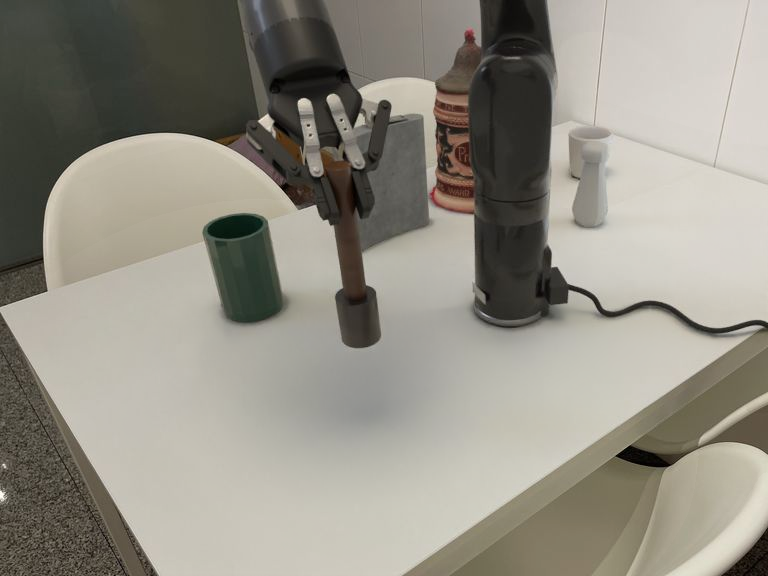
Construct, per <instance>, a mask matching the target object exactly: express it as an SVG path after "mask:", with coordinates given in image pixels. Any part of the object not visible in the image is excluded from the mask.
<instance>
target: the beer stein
mask: <svg viewBox="0 0 768 576" xmlns="http://www.w3.org/2000/svg"><path fill="white" fill-rule="evenodd" d="M474 34H475V32H474V30H473V29H468V30H466V29H465V31H464V42H463V44H462V45H461V46H460V47H459V48H458V49H457V51H456V54H455V58H454V60H453V65H452V66H451V68H450V69H449V70H448V71H447V72H446V74H444V75H443V76H441V77H439V78H437V79H436V80H435V81H434V86H435V90H436V94H435V99H434V106H433V109H432V113H433V116H434V120H435V123H436V128H435V132H434V137H435V150H436V156H437V157H436V162H437V166H436V167H435V170H434V175H435V177H436V179H435V180H436V183H435V186H434V187H433V188H432V190H431V192H429V196H430V197H429V196H428V199H430V200H432V202H433V203H434V204H435V205H436V206H438V207H441V208H443V209H446V210H448V211H452V212H458V213H468V214H474V178H473V173H472V170H471V165H470V151H469V126H468V94H469V86H470V82H471V79H472V76H473V74H474V72H475V71H476V69H477V68H478V66H479V64H480V61H481V46H478V44H477V43H476V40H477V38H476V37H475V35H474Z"/></svg>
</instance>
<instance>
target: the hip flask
mask: <svg viewBox="0 0 768 576" xmlns="http://www.w3.org/2000/svg"><path fill="white" fill-rule="evenodd" d="M424 120H425V119H424V115H423V114H421V113H406V114H397V115H390V118H389V123H388V128H387V133H386V138H385V143H384V149H383V154H382V157H381V159H380V161H379V165H378V168H377V169H376V170H375V171H369V172H368V173H367V176H368V179H369V182H370V185H371V189H372V191H373V194H374V197H375V203H374V207H373V209H372V211H371V213H370V216H369V218H365V219H360V217H359V214H358V211H357V208H356V211H357V219H358V227H359V235H360V242H361V250H362V252H363V251H365V250H367V249H368V248H369V247H372V246H374V245H376V244H379V243H380V242H383V241H385V240H388V239H390V238H392V237H395V236H397V235H401V234H403V233H406V232H410V231H412V230H415V229H420V228H424V227H426V226H428V225H429V224H430V212H429V211H430V210H429V193H428V176H427V174H428V173H427V159H426V158H427V157H426V139H425V121H424ZM353 131H354V133H355V135H356V138H357V144H358V147H359V149H360V151H361V153H362V154H364V153H366V152H367V151H368V147H369V142H370V137H371V132H372V128H369V127H368V126H367V125H366V123H365V122H364V124H362V125H358V126H356V127H355V126H354V129H353ZM331 149H332V157H333V162H334V161H342V160H340V159H339V157H338V155H337V153H336V150H335V148H334V147H331Z"/></svg>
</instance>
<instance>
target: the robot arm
mask: <svg viewBox="0 0 768 576" xmlns="http://www.w3.org/2000/svg"><path fill="white" fill-rule="evenodd" d="M239 1H240V4H241V8H242V12H243V13H242V14H243V20H244V25H245V30H246V33H247V36H248V44H249V47H250V49H251V52H253V55H254V58H255V62H256V65H257V68H258V71H259V74H260V77H261V81H262V85H263V87H264V91H265V94H266V96H267V100H268V104H267V106H266V107H267V108H266V109H267V112H266V115H264V116H262V117H261V118H259V120H257V119H250V120H248V121H247V122H246V126H245V129H246V131H245V132H246V142H247V144H248V145H249V146H250V147H251V148H252V149H253V150H254V151H255V152H256V153H257V154H258V155H259V156H260V157H261V158H262V159H263V161H265V162H266V163H267V164H268V165H269V166H270V168H272V169H273V170H274V171H275V172H276V173H277V174H278V175H279V176H280V178H282V179H283V181H285V183H286V184H288V185H289V186H292V187H295V186H297V185H301V186H306V187H308V188H309V189H310V191H311V194H312V197H313V200H314V203H315V207H316V209H317V213H318V216H319V217H320V219H321V221H323V222H324V221H328V224H329V226H331V227H332V226H334V225H337V224H339V220H340V213H339V210H338V207H337V204H336V200H335V197H334V194H333V191H332V188H331V185H330V182H329V178H328V177H326V175H325V167H324V164H323V159H322V154H321V153H322V152H321V149H323V148H332V147H334V148H335V150H336V153H337V155H338V157H339V159H340V160H342V161H346V162H349V163H350V164H351V172H352V180H353V188H354V196H355V203H356V208H357V211H358V214H359V217H360V219H365V218H369V216H370V213H371V211H372V209H373V207H374V203H375V197H374V194H373V191H372V189H371V185H370V182H369V179H368V176H367V173H368V172H369V171H375V170H376V169H377V168H378V165H379V161H380V159H381V157H382V154H383V149H384V143H385V138H386V133H387V128H388V123H389V118H390V117H391V114H392V108H393V106H392V105H393V104H392V103H391V102H390V100H387V99H381V100H380V101H379V102H378V103H377V102H374V101H371V100H368V99H364V98H363V95H362V94H361V92H360V91H359V90H358V89H357V88H356V87H355V86H354V85H353V83H352V80H351V77H350V73H349V70H348V66H347V64H346V62H345V57H344V55H343V52H342V49H341V46H340V43H339V40H338V36H337V34H336V31H335V27H334V24H333V21H332V19H331V15H330V12H329V9H328V7H327V4H326V2H325V0H239ZM479 14H480V41H481V42H480V47H481V61H480V64H479V66H478V68H477V69H476V71H475V72H474V74H473V76H472V79H471V82H470V86H469V94H468V126H469V151H470V165H471V170H472V173H473V178H474V213H473V223H474V224H473V225H474V227H473V230H474V233H473V234H474V240H473V241H474V282H472V289H471V290H472V293H473V294H474V312H475V313H476V315H477V316H478V317H479V318H480V319H481V320H483V321H484V322H487V323H489V324H491V325H496V326H501V327H519V326H525V325H529V324H531V323H534V322H535V321H537V320H538V319H540V318H541V317H547V316H549V311H550V306H557V305H565V304H568V303H569V292H570V291H571V292H574V293H577V294H581V295H583V296H585V297H587V298H588V299H590V301H592V303H593V304H594V306H595V308H596V310H597V311H598V313H600V314H601V315H602V316H606V317H608V318H616V317H620V316H623V315H626V314H628V313H632V312H633V311H635V310H637V309H640V308H643V307H657V308H661V309H665V310H666V311H668V312H670V313H672V314H673V315H675V316H676V317H677V318H679V319H680V320H681V321H682V322H683V323H685V324H686V325H688V326H690V327H691V328H693V329H695V330H698V331H700V332H704V333H708V334H713V335H714V334H717V335H719V334H720V335H722V334H729V333H733V332H736V331H739V330H743V329H746V328H749V327H755V326H756V327H757V326H759V327H763V328H765V329H767V330H768V321H765V320H762V319H751V320H746V321H743V322H740V323H738V324H733V325H730V326H726V327H724V326H723V327H709V326H707V325H702V324H700V323H698V322H697V321H696V322H695V321H693V320H692V318H689V317H688V316H686V314H684V313H683V312H681V310H679V309H677V308H676V307H674V306H672V305H670V304H668V303H665V302H662V301H658V300H650V299H649V300H642V301H639V302H636V303H633V304H631V305H629V306H628V307H626V308H623V309H621V310H617V311H616V310H615V311H610V310H607V309H605V308H603V306H602V304H601V302H600V300H599V299H598V297H597V296H596V295H595V294H594V293H592V292H591V291H589V290H587V289H586V288H584V287H583V288H582V287H580V286H577V285H573V284H569V283H568V282H567V281H566V279H565V277H564V275H563V274H562V272H561V270H560V269H559V266H552V264H553V263H552V261H553V251H552V249H551V247H550V245H549V244H548V240H549V224H550V223H549V222H550V204H551V203H550V202H551V201H550V200H551V187H552V185H551V184H552V171H553V170H552V160H551V159H552V157H551V155H552V139H553V120H554V119H553V117H554V102H555V99H556V96H557V95H556V94H557V90H558V85H559V83H558V82H559V75H558V68H557V63H556V57H555V51H554V44H553V38H552V31H551V30H552V29H551V22H550V15H549V6H548V0H479ZM359 115H362V117H363V118H364V124H365V123H366V125H367V126H368V127H369V128H372V132H371V137H370V142H369V147H368V151H367V152H366V153H364V154H362V153H361V151H360V149H359V147H358V144H357V138H356V135H355V133H354V131H353V129H354V128H355V126H356V123H357V121H358V118H359ZM274 128H275V129H274ZM276 130H278V131H279V132H280V133H281V134H282V135H284V136H285V137H286V138H288V139H289V140H290V141H292V142H293V143H294V144H295V145H297V146H298V147H299V150H300V154H301V155H300V156H301V159H302V163H300V162H299V161H298V160H297V159H296V158H295V157H294V156H293V154H291V152H289V151H288V150H287V149H286V148H285V147H284V146H283V144H281V143H280V142H279V140H277V131H276Z"/></svg>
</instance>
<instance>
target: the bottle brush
mask: <svg viewBox="0 0 768 576" xmlns="http://www.w3.org/2000/svg"><path fill="white" fill-rule="evenodd" d="M324 173H325V177H328V178H329V182H330V185H331V188H332V191H333V194H334V197H335V200H336V204H337V207H338V210H339V213H340V220H339V224H337V225H333V231H334V237H335V243H336V251H337V257H338V258H337V259H338V265H339V270H340V277H341V285H342V288H340V289H339V290H338V291H336V292H335V295H334V301H335V306H336V314H337V318H338V319H337V320H338V325H339V332H340V339H341V342H342V344H343V345H344V346H346V347H348V348H351V349H352V348H353V349H366V348H369V347H372V346H374V345H376V344H377V343H378V342H380V340H381V338H382V331H381V330H382V328H381V321H380V311H379V302H378V296H377V295H378V294H377V291H376V289H375V288H374V287H372V286H371V285H367V283H366V274H365V268H364V260H363V259H364V258H363V251H362V250H361V242H360V235H359V227H358V219H357V211H356V203H355V196H354V188H353V180H352V172H351V164H350V163H349V162H346V161H334V160H333V161H330V162H328V163H326V164H325V165H324Z"/></svg>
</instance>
